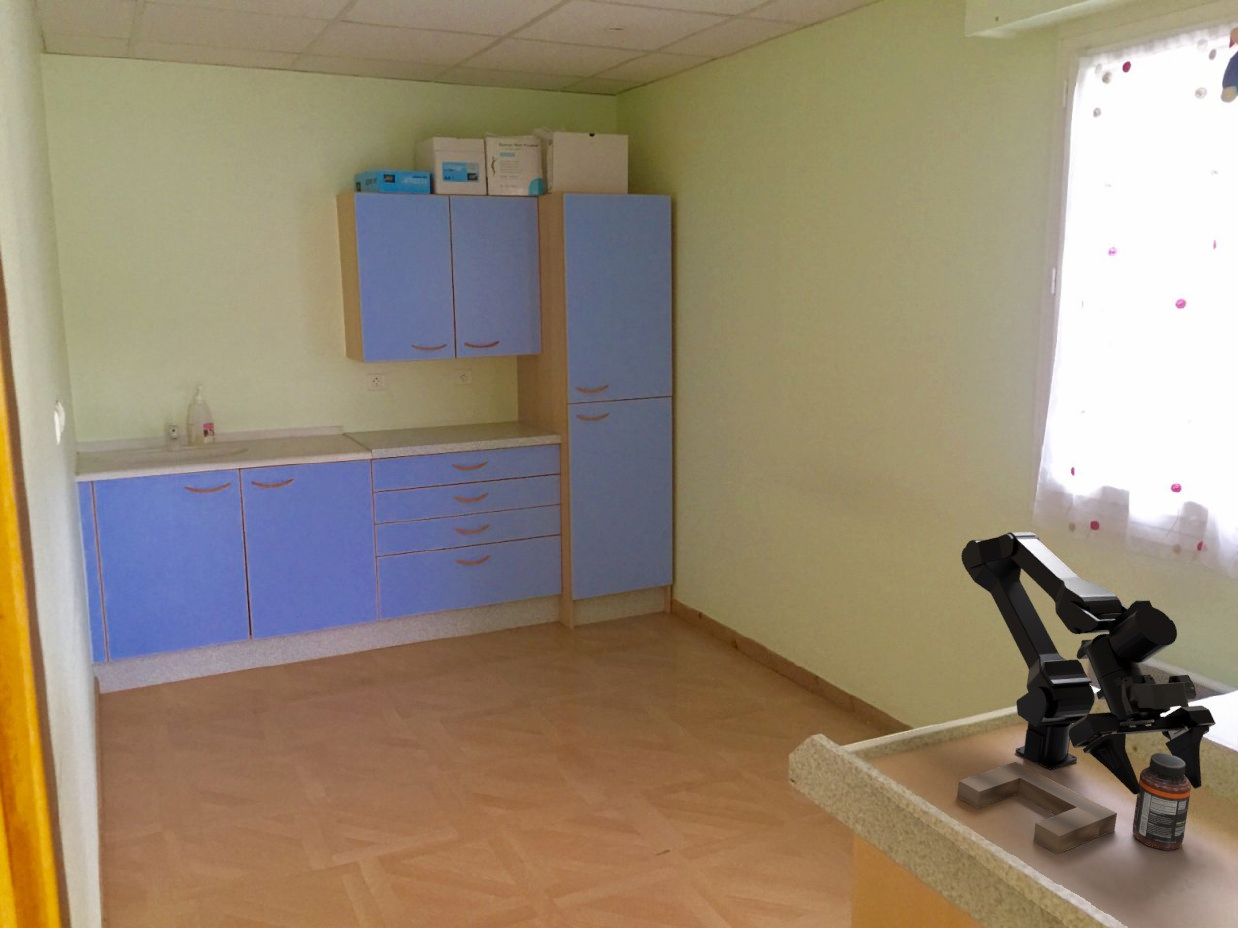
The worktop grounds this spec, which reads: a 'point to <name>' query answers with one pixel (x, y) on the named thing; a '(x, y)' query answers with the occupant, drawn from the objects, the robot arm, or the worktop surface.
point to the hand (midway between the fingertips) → (1168, 790)
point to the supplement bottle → (1162, 803)
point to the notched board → (1042, 805)
